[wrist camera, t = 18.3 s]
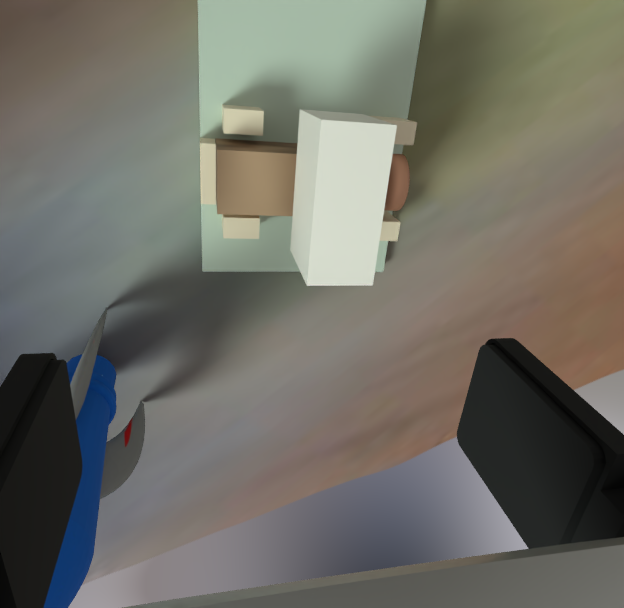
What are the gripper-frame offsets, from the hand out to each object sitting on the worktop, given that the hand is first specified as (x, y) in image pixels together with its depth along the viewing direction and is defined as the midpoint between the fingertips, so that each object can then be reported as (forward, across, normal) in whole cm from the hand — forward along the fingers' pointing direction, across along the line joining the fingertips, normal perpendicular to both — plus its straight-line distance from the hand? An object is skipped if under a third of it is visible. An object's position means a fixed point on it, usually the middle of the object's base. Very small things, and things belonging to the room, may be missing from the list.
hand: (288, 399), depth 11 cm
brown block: (+27, -6, 0) cm, 28 cm away
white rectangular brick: (+22, -6, 0) cm, 23 cm away
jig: (+28, -6, -4) cm, 29 cm away
